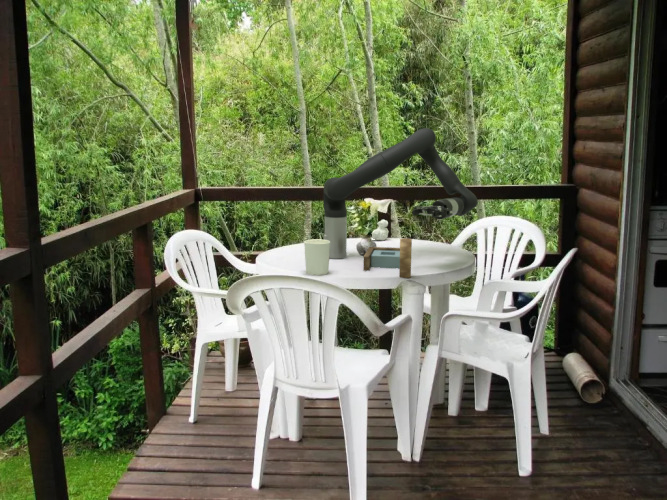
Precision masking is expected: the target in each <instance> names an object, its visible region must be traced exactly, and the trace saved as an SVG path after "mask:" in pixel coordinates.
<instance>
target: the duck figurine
mask: <svg viewBox="0 0 667 500" xmlns="http://www.w3.org/2000/svg"><path fill="white" fill-rule="evenodd" d="M376 224H377V225H378V227H377V228H375V229H374V230H373V231H372V232H371V234H372V238H373V239H375V240H376V241H380V242H381V241H385V240H387V238H388V236H389V232H390V231H389V230H388V228H387V227H388V226H389V222H388V220H387V219H386V220H385V219H381V220H380V221H378V222H377V223H376ZM375 240H374V241H375Z"/></svg>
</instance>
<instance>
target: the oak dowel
mask: <svg viewBox="0 0 667 500" xmlns="http://www.w3.org/2000/svg"><path fill="white" fill-rule="evenodd" d="M412 241H413V239H412V238H406V237H404V238H400V239H399V248H400V269H398V270H399V271H398V273H399V274H398V275H399V278H401V279H410V278H411V277H412V248H413V247H412V246H413V245H412Z"/></svg>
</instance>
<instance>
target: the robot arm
mask: <svg viewBox="0 0 667 500" xmlns="http://www.w3.org/2000/svg"><path fill="white" fill-rule="evenodd" d="M436 139H437V136H436V133H435V131H434V130H433V129H430V128H427V127H423V128H420V129H418V130H416V131H415V132H413V133H411V135H409V136H408V137H407V138H405V139H403V140H402V141H400V142H398V143H395V144H394V145H392V146H390V147H388V148H386V149H384V150H383V151H380V152H378V153H376V154H374V155H372V156H371V157H369V158H367V159H366V160H365V161H364V162H363V163H361V164H360V165H359V166H358V167H356V168H355V169H354V170H353V171H351V172H349V173H347V174H345V175H342V176H340V177H334V176H333V177H330V178H328V179H327V180H326V181H325V183H324V184H323V211H324V234H323V240H329V241H330V253H329V259H335V260H336V259H337V260H338V259H344V258H347V246H348V245H347V244H348V243H347V235H348V234H347V233H348V232H347V231H348V230H347V229H348V227H347V226H348V224H347V222H348V219H347V217H348V215H347V213H348V210H347V207H346V198H348V196H350V195H351V194H353V193H354V192H355V191H357V190H358V189H361V187H362V188H363V187H364V186H365V185H368V184H370V183H373V182H374V181H377V180H379V179H381V178H382V177H385V176H386V175H388V174H389V173H391V172H392V171H394V170H395V169H396V168H398V167H400V165H402V164H403V163H404V162H405V161H406V160H407V159H409V158H410V157H412V156H414V155H416V154H418V156H419V157H420V158H421V159H422V160H423V161H424V162H425V163H426V165H428V168H430V169H431V171H432V172H433V173H434V175H435V176H436V178H437V179H438V181H439V183H440V184H441V186H442V187H443V189H444V191H445V192H446V193H447V194H448V195H449V196H453V195H456V194H459V195H461V196H459V197H451V198H448V197H447V198H443V199H438V200H435V201H433V202H432V204H431V205H425V206H424V205H420V206H415V207H413V209H412V211H411V214H412V216H419V215H422V216H430V217H431V218H434V219H436V220H443V219H447V218H451V217H453V216H458V217H462V216H465V215H467V213H469V212H470V211H472V210H473V209H475V208H476V207H477V206H478V202H479V201H478V198H477V196H476V194H475V193H473V192H472V190H470V189H468V188H467V187H466V186H465V185H464V184H463V182H462V181H461V180H460V178H459V177H458V175H457V174H456V172H455V171H454V170H453V169H452V167H450V165H449V164H447V163H446V162H445V161H444V160H443V159H442V157H441V155H439V153H438V151H437V149H436V146H435V144H436V141H437V140H436Z"/></svg>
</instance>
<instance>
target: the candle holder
mask: <svg viewBox="0 0 667 500" xmlns="http://www.w3.org/2000/svg"><path fill="white" fill-rule="evenodd" d="M303 243H304V244H303V247H304V259H305V273H306V274H308V275H312V276H323V275H327V274H328V273H329V267H330V258H329V253H330V241H329V240H324V238H323V239H320V238H319V239H317V238H315V239H307V240H304V241H303Z"/></svg>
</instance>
